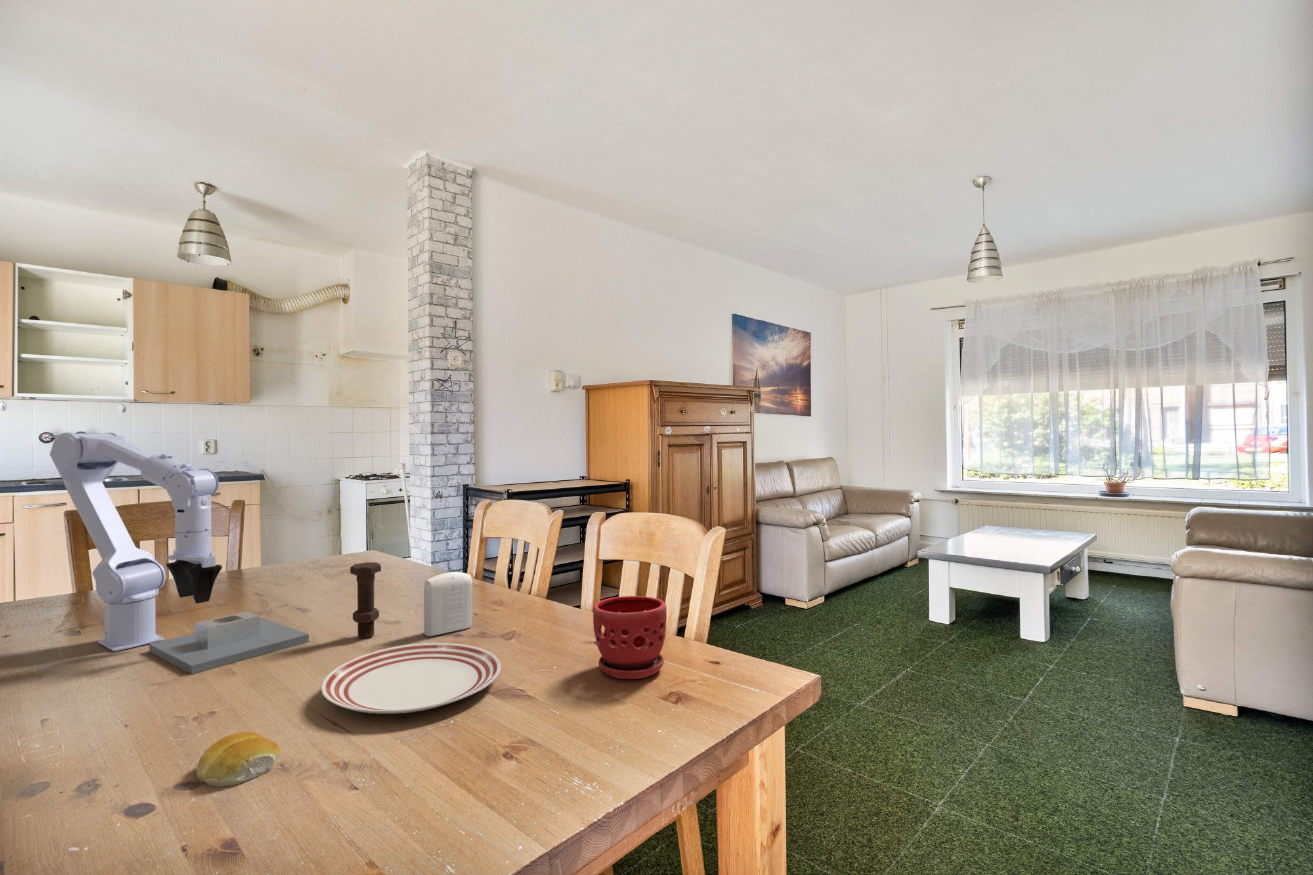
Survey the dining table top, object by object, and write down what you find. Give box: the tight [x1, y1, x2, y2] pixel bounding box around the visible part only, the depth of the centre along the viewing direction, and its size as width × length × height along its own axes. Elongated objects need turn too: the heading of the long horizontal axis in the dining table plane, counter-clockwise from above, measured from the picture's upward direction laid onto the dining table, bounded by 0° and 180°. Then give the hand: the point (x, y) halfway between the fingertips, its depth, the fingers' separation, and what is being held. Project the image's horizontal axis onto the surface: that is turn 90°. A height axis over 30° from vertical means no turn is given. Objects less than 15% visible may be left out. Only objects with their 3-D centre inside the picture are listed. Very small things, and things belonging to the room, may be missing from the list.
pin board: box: [148, 617, 310, 675], centre depth 121 cm, size 20×20×4 cm
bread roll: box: [195, 731, 281, 787], centre depth 77 cm, size 8×9×4 cm
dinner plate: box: [320, 642, 502, 715], centre depth 101 cm, size 28×27×3 cm
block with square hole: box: [194, 611, 261, 649], centre depth 121 cm, size 6×9×4 cm, turn 147°
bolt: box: [349, 561, 382, 639], centre depth 126 cm, size 6×5×15 cm
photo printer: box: [423, 571, 473, 637], centre depth 130 cm, size 10×4×12 cm, turn 134°
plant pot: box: [592, 595, 668, 680], centre depth 109 cm, size 13×13×12 cm
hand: (194, 599), depth 121 cm, fingers open, 7 cm apart
